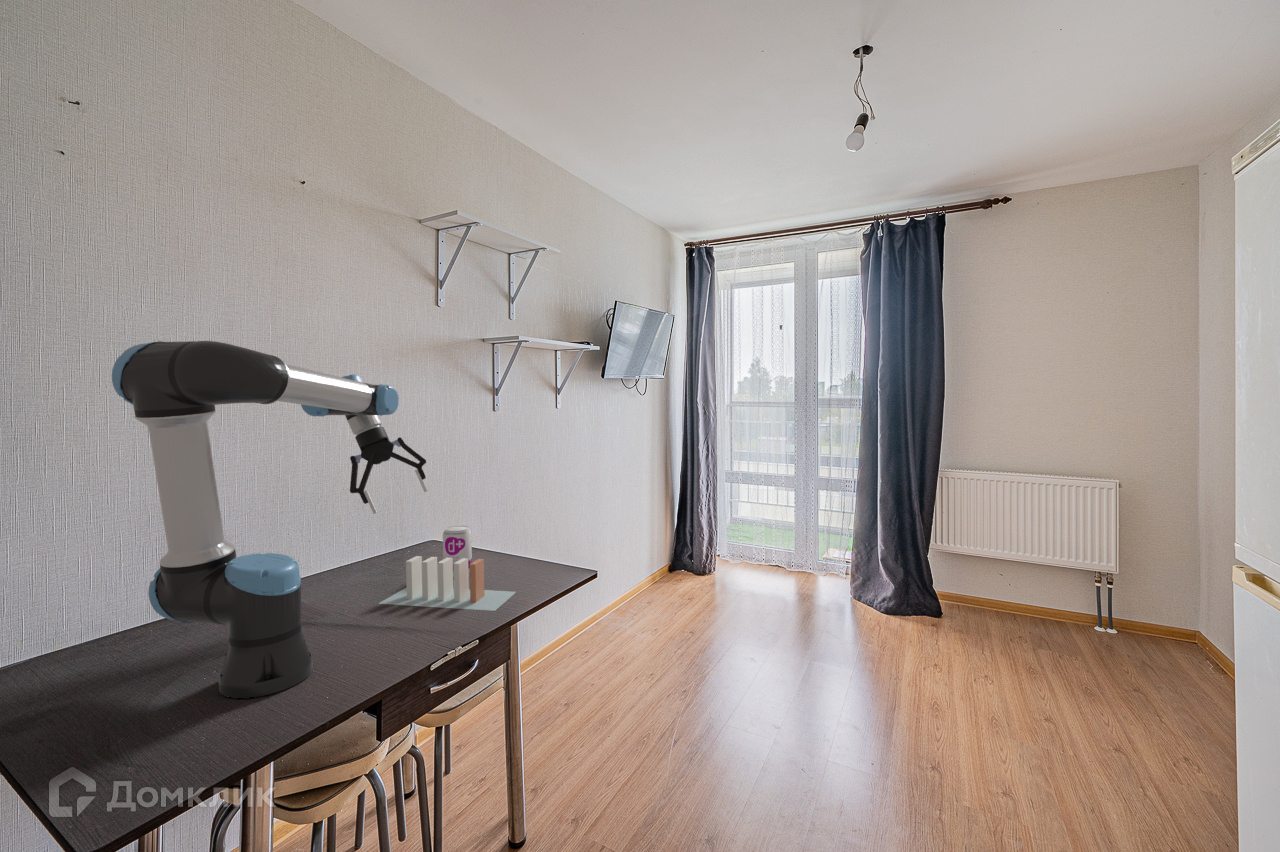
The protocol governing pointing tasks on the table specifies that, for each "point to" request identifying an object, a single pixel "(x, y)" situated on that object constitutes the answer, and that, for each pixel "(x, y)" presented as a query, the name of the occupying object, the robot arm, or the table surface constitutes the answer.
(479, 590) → the domino
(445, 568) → the domino
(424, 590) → the domino
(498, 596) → the domino board
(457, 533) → the supplement can
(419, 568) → the domino
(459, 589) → the domino
